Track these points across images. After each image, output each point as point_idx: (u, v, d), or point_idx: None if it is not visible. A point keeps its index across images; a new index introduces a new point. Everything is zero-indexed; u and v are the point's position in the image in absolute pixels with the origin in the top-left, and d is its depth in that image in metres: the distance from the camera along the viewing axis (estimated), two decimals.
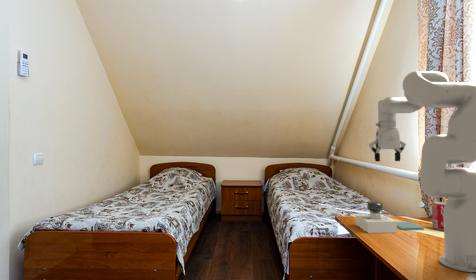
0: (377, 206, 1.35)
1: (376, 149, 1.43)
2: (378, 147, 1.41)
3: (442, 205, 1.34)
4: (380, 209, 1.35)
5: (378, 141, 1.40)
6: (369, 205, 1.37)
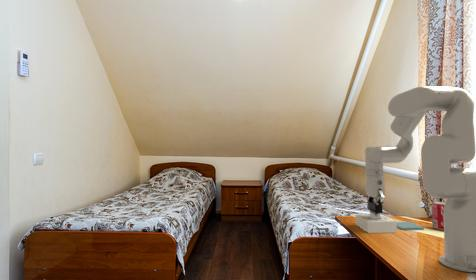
0: None
1: None
2: (380, 198, 1.34)
3: (442, 205, 1.34)
4: None
5: (383, 191, 1.33)
6: (369, 205, 1.37)
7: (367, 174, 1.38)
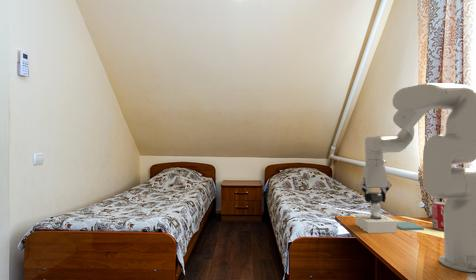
0: None
1: None
2: None
3: (442, 205, 1.34)
4: None
5: None
6: (380, 196, 1.35)
7: (379, 164, 1.35)
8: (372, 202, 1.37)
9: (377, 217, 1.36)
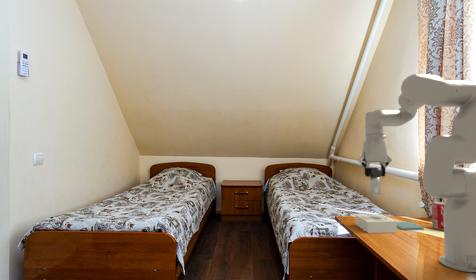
0: None
1: None
2: None
3: (442, 205, 1.34)
4: None
5: None
6: (380, 170, 1.36)
7: (380, 139, 1.35)
8: (372, 176, 1.37)
9: (377, 191, 1.36)
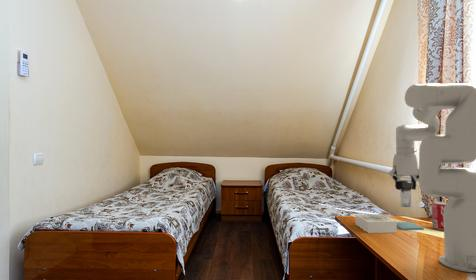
0: None
1: None
2: None
3: (442, 205, 1.34)
4: None
5: None
6: (411, 183, 1.38)
7: (411, 153, 1.37)
8: (403, 189, 1.40)
9: (408, 204, 1.39)
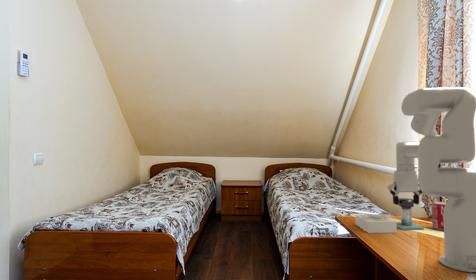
0: None
1: None
2: None
3: (442, 205, 1.34)
4: None
5: None
6: (411, 202, 1.38)
7: (411, 169, 1.37)
8: (403, 208, 1.39)
9: (408, 223, 1.38)
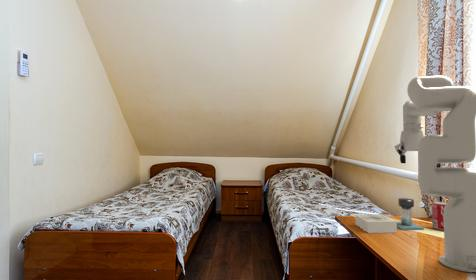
0: None
1: None
2: None
3: (442, 205, 1.34)
4: None
5: None
6: (411, 202, 1.38)
7: (418, 128, 1.41)
8: (403, 208, 1.39)
9: (408, 223, 1.38)
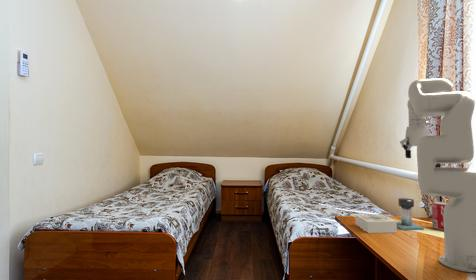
0: None
1: None
2: None
3: (442, 205, 1.34)
4: None
5: None
6: (411, 202, 1.38)
7: (423, 124, 1.44)
8: (403, 208, 1.39)
9: (408, 223, 1.38)
